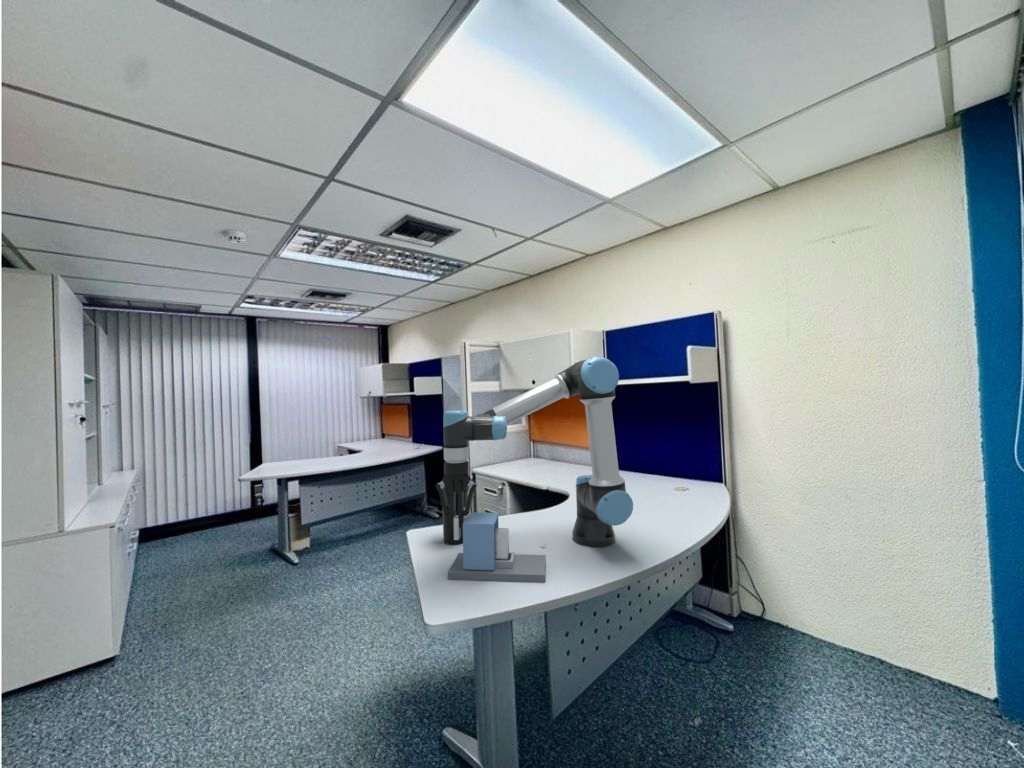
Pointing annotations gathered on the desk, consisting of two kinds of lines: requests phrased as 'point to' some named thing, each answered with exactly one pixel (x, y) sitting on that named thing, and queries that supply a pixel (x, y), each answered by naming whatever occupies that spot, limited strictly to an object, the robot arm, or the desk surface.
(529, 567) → the housing base
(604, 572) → the desk surface
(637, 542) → the desk surface
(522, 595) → the desk surface
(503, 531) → the steel block
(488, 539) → the housing cover
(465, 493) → the water bottle
